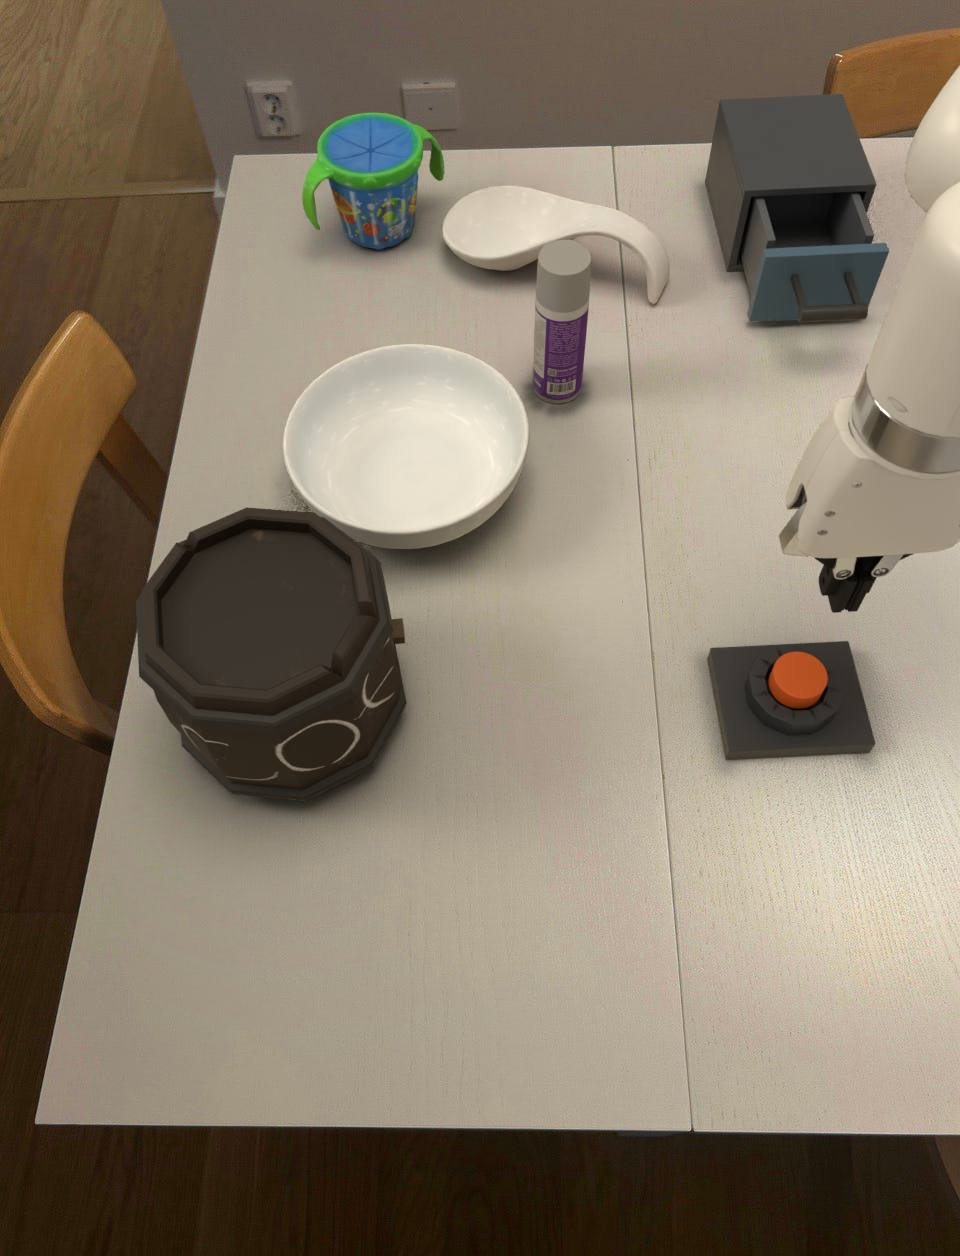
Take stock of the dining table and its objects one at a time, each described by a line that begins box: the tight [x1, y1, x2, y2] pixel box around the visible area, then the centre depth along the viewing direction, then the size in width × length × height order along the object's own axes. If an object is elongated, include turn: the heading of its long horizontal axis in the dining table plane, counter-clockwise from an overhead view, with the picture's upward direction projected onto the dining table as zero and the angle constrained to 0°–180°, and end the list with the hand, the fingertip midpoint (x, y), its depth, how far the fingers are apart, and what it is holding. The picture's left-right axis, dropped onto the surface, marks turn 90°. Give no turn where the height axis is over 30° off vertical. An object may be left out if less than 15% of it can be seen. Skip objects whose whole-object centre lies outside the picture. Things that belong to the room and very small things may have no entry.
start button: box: [769, 652, 828, 709], centre depth 80 cm, size 4×4×2 cm
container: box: [532, 239, 592, 405], centre depth 95 cm, size 5×5×15 cm
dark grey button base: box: [706, 640, 876, 761], centre depth 82 cm, size 11×9×4 cm
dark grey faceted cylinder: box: [135, 507, 407, 802], centre depth 77 cm, size 18×18×16 cm
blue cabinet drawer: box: [739, 192, 890, 323], centre depth 103 cm, size 19×11×8 cm, turn 3°
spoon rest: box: [441, 185, 671, 304], centre depth 107 cm, size 24×12×7 cm, turn 68°
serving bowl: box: [282, 343, 530, 550], centre depth 92 cm, size 21×21×7 cm
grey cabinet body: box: [704, 93, 877, 272], centre depth 109 cm, size 15×13×10 cm
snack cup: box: [301, 112, 446, 251], centre depth 109 cm, size 16×10×10 cm
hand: (839, 593), depth 72 cm, fingers closed
